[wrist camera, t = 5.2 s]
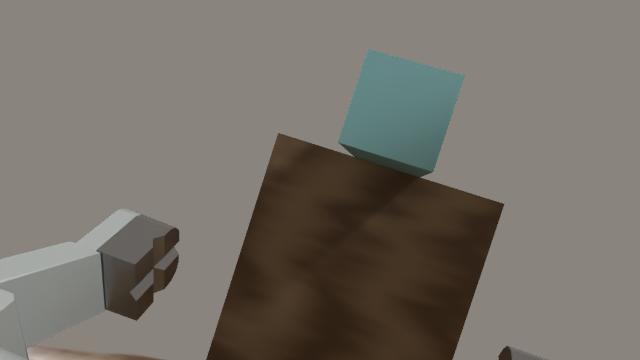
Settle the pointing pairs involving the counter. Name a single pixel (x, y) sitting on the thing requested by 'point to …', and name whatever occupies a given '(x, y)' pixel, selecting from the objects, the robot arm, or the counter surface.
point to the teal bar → (400, 113)
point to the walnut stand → (353, 263)
